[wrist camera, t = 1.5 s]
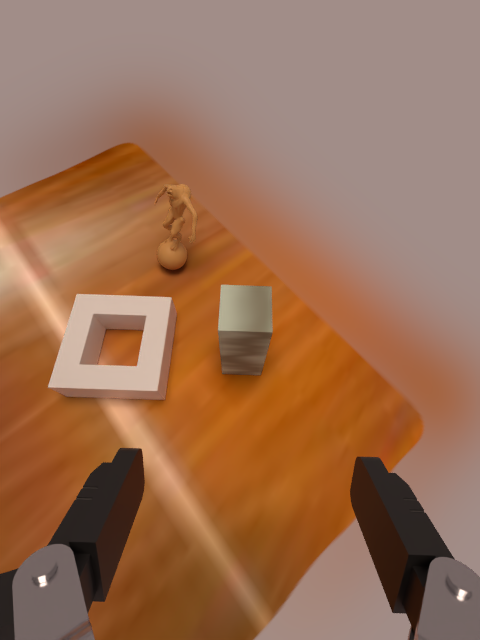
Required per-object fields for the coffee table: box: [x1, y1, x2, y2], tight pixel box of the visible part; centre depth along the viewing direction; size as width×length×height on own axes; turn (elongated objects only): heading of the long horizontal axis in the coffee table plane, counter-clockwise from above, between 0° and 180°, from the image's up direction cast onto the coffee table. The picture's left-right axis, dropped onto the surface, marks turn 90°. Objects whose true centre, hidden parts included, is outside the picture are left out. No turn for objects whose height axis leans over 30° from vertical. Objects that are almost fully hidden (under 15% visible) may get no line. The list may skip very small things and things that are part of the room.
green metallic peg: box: [218, 285, 272, 375], centre depth 32 cm, size 4×4×12 cm
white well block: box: [48, 294, 177, 400], centre depth 36 cm, size 11×11×4 cm
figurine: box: [154, 184, 197, 270], centre depth 39 cm, size 8×6×12 cm
